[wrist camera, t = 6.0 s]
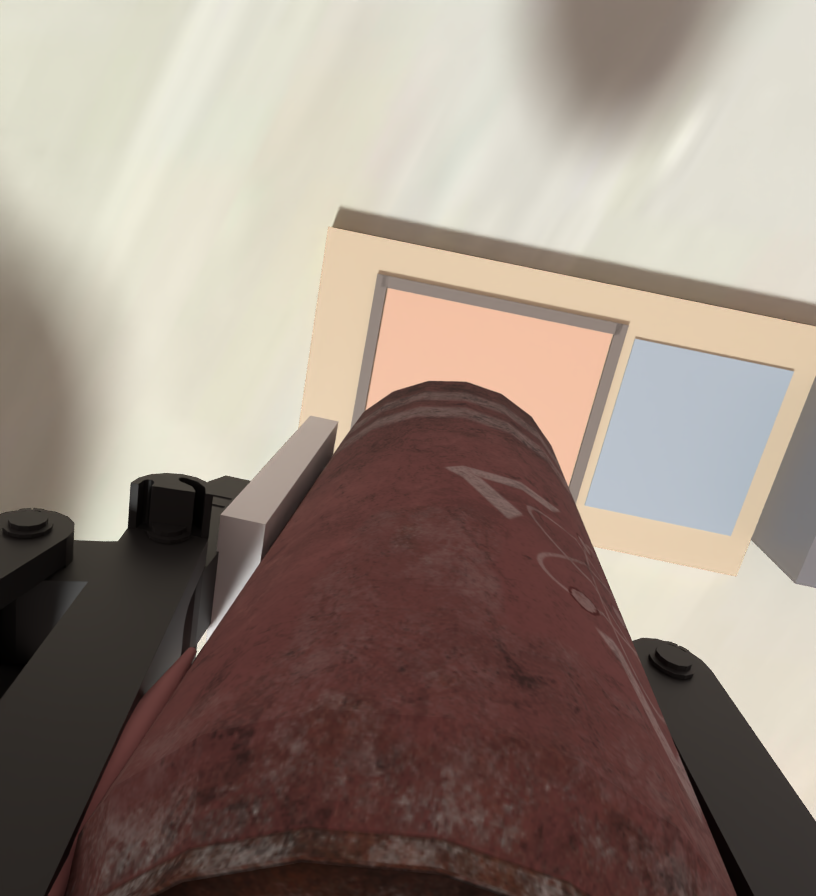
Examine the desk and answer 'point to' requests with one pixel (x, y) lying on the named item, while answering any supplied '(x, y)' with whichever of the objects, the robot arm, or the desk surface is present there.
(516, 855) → the can
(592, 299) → the board
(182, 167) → the desk surface
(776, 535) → the button housing
